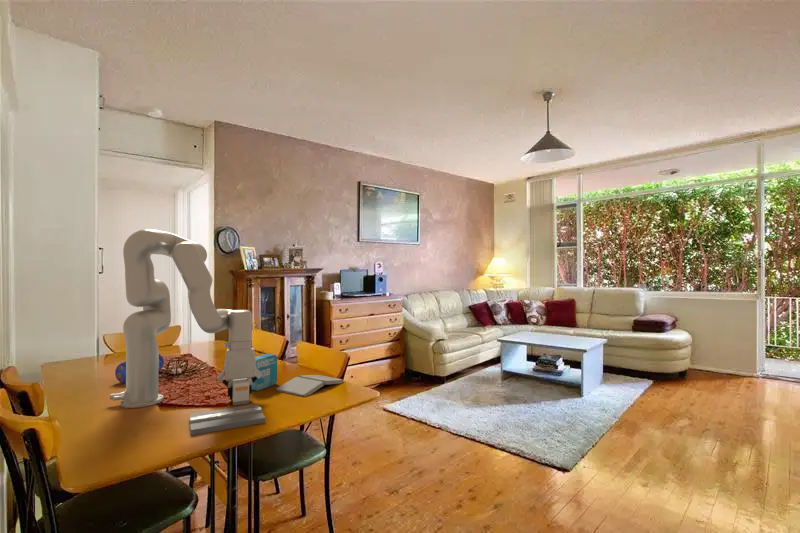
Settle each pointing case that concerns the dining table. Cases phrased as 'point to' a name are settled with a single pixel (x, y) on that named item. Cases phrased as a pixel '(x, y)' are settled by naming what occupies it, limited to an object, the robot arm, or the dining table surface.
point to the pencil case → (121, 370)
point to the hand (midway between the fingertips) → (239, 396)
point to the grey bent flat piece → (306, 384)
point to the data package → (266, 371)
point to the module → (240, 391)
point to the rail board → (226, 419)
